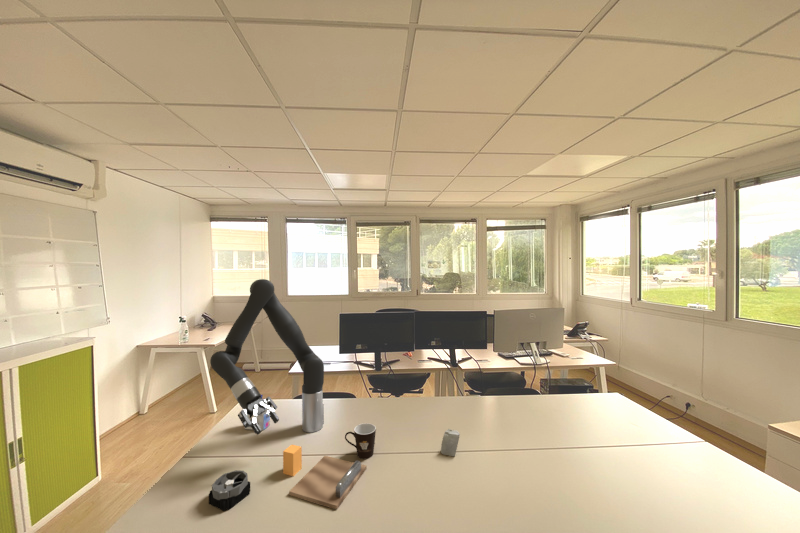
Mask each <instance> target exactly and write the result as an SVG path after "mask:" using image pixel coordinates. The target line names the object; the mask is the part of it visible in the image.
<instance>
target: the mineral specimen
mask: <svg viewBox="0 0 800 533" xmlns="http://www.w3.org/2000/svg"><path fill="white" fill-rule="evenodd" d="M460 435H461V434H460V432H459V431H458V430H457V429H451V428H448V429H446V430H445V431H444V434H443V436H442V441H441V446H440V447H441V448H440V453H441V454H442V455H444V456H445V455H446V456H448V457H449V456H450V457H455V456H456V453H457V450H458V445H459V441H460V440H459V439H460V437H461V436H460Z"/></svg>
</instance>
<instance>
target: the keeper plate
mask: <svg viewBox="0 0 800 533" xmlns="http://www.w3.org/2000/svg"><path fill="white" fill-rule="evenodd" d="M367 466H368V465H366V464H362V462H361V461H360V460H355V461H354V462H353V461H349V460H345V459H341V458H337V457H333V456H328V455H324V456H323V457H322V458H321V459H320V460H319V461H318V462H317V463H316V464H315V465H314V466H313V467H312V468H311V469H310V470H309V471H308V472H307V473H305V474H304V476H303V477H302V478H301V479H300V480H299V481H298V482H297V483H296V484H295V485H294V486H293V487H292V488H291V489H290V490H289V491H288V495H289V496H291V497H294V498H298V499H301V500H305V501H307V502H309V503H314V504H317V505H320V506H324V507H327V508H329V509H330V508H331V509H334V510H338V509H339V508H340V506H341V505H342V504H343V502H344V501H345V499H346V498H347V497H348V495H349V494H350V492H351V491H352V490H353V489H354V487H355V485H356V484H357V483H358V482H359V480H360V479H361V477H362V476H363V475H364V473H365V472H366V470H367Z"/></svg>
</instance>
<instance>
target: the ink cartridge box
mask: <svg viewBox="0 0 800 533" xmlns="http://www.w3.org/2000/svg"><path fill="white" fill-rule="evenodd" d="M261 398H262V399H263V400H265V399H266V398H263V394H261ZM265 409H266V408H265ZM247 416H248V418H249V415H248V414H247ZM270 420H271V417H270V415H268V414H263V413H262V414H260V415H258V416H257V417H256V422H257V423H258V425H259V426H260V428H261V429H262V431H264V430H265V429H267V428H268V427H270V425H271V423H270V422H271V421H270ZM244 430H253V429H252V428H251V427H247V428H245V427H244Z"/></svg>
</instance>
